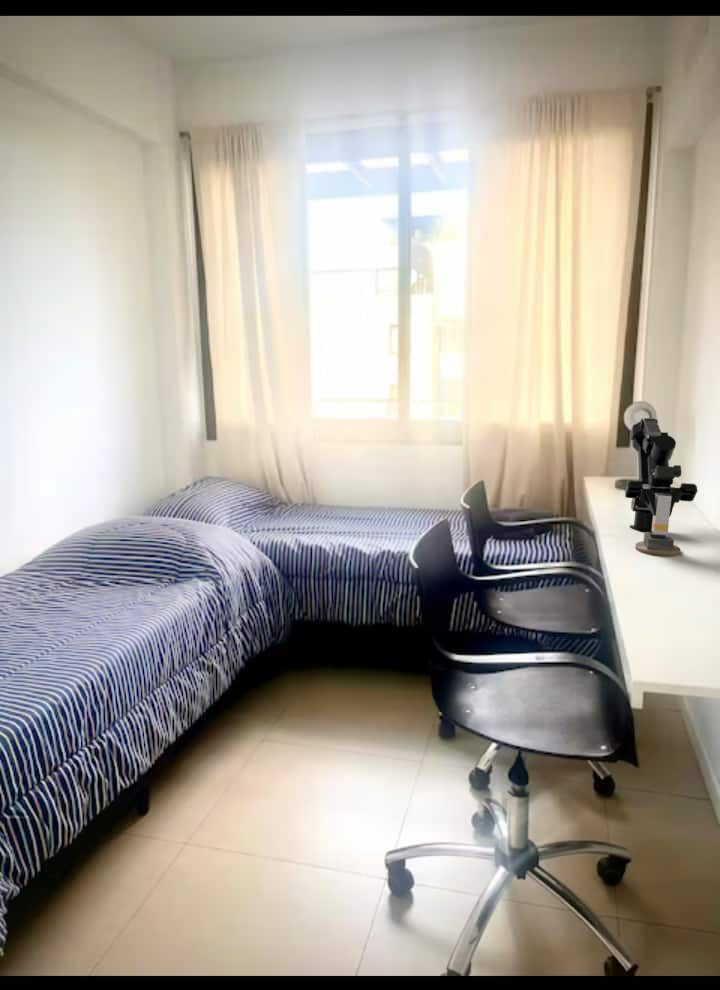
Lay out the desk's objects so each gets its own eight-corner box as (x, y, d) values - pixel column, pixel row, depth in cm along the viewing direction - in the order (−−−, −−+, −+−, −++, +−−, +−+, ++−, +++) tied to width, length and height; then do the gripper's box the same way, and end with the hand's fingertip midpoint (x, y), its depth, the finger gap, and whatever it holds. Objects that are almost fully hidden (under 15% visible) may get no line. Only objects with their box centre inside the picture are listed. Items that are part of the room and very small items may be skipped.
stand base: (632, 542, 207) (633, 530, 206) (675, 545, 205) (676, 532, 204) (638, 554, 196) (640, 541, 195) (684, 557, 193) (685, 544, 192)
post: (651, 530, 201) (655, 492, 199) (664, 531, 200) (669, 493, 198) (653, 533, 198) (657, 495, 195) (667, 534, 197) (671, 496, 194)
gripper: (630, 453, 200) (632, 498, 192) (699, 456, 196) (705, 502, 188) (623, 474, 209) (625, 519, 201) (690, 478, 205) (694, 523, 197)
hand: (662, 515), depth 196 cm, fingers closed on post, 4 cm apart
